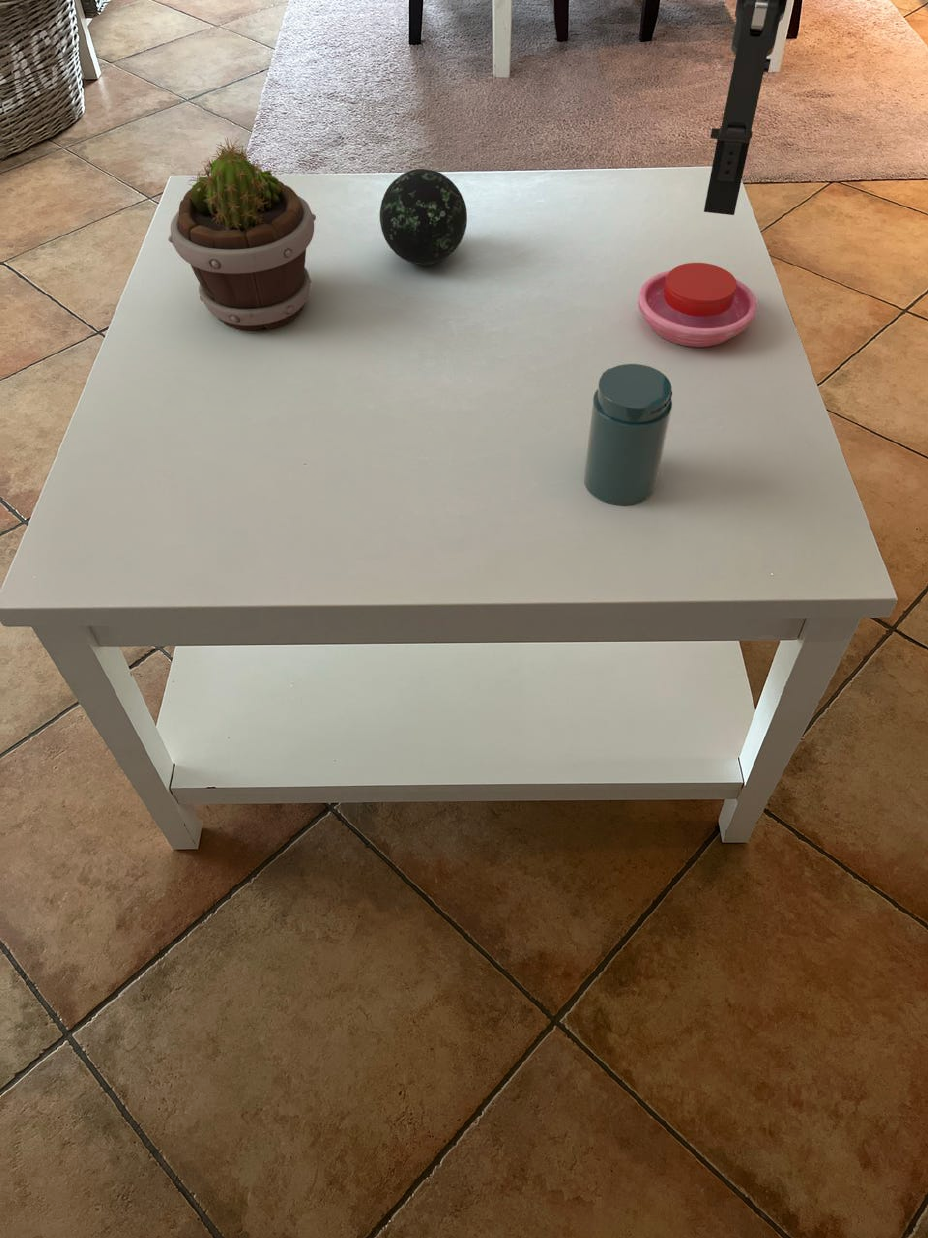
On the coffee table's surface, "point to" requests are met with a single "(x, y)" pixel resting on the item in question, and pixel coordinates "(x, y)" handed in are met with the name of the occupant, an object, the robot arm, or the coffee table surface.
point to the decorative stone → (423, 216)
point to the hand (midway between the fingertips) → (725, 177)
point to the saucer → (694, 327)
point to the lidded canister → (627, 433)
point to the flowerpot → (245, 242)
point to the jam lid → (699, 289)
